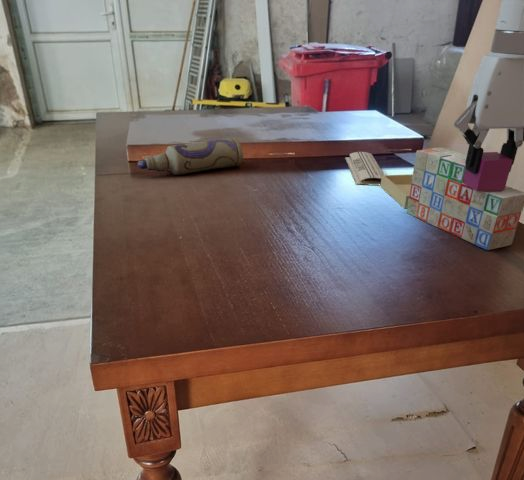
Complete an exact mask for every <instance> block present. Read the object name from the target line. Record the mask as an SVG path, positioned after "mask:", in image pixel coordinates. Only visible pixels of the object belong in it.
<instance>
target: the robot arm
mask: <svg viewBox="0 0 524 480" xmlns="http://www.w3.org/2000/svg"><path fill="white" fill-rule="evenodd" d="M466 102H467V103H466V107H465V110H464V111H463V112H462V113H461V115H459V117H458V118H457V119H456V120H455V121H454V124H453V125H454V127H455V128H456V129H457V131H458V132H460V133H461V135H462V137H463V138H464V140H465V141H466V144H467V145H468V148H467V153H466V155H467V157H466V162H465V165H466V170H468V171H470V172H471V173H473V174H477V173H478V171H479V167H480V163H481V159H482V155H483V152H485V151H484V148H483V147H482V146H483V143H484V142H485V139H486V137H487V135H488V133H489V131H490V130H493V129H494V130H497V129H498V130H501V129H506V142H503V144H502V145H501V149H500V152H499V153H500V154H502V155H504V156H506V157H508V158H510V159H512V164H511V168H510V171H509V173H511V171H512V167H513V165H514V163H515V159H516V156H517V152H518V149H519V148H520V147H522V146H523V143H524V0H501V2H500V6H499V10H498V14H497V19H496V23H495V30H494V33H493V37H492V41H491V45H490V51H489V54H484V55H483V56H482V59H481V61H480V63H479V66H478V67H477V71H476V73H475V76H474V79H473V82H472V85H471V88H470V92H469V96H468V99H467V101H466ZM469 124H470V125H471V124H472V125H473V127H472V128H471V127H470V126H469Z"/></svg>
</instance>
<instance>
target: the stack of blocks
mask: <svg viewBox="0 0 524 480" xmlns="http://www.w3.org/2000/svg"><path fill="white" fill-rule="evenodd" d="M466 157H467V153H461V152H458V151H454V150H452V149H448V148H445V147H441V146H440V147H433V148H424V149H418V150H416V154H415V159H414V166H413V171H412V174H413V176H412V184H411V190H410V197H409V201H408V207H407V208H406V213H407V214H408V215H410V216H412V217H415V218H417V219H419V220H420V221H423V222H425V223H427V224H428V225H429V224H430V225H431V226H433V227H436V228H437V229H441V230H443V231H444V232H447V233H450V234H451V235H454V236H456V237H458V238H461V239H462V240H464V241H467V242H469V243H471V244H472V245H475V246H477V247H478V248H481V249H483V250H485V251H491V250H495V249H499V248H504V247H509V246H512V244H513V241H514V239H515V236H516V231H517V229H518V226H519V222H520V219H521V217H522V216H521V215H522V212H523V210H524V191H522V190H519V189H516V188H513V187H511V186H508V185H506V186H505V190H498V191H475V190H474V189H472V188H471V187H469V186H468V185H466V184H465V183H463V179H464V175H465V171H466V165H465V162H466Z"/></svg>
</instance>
